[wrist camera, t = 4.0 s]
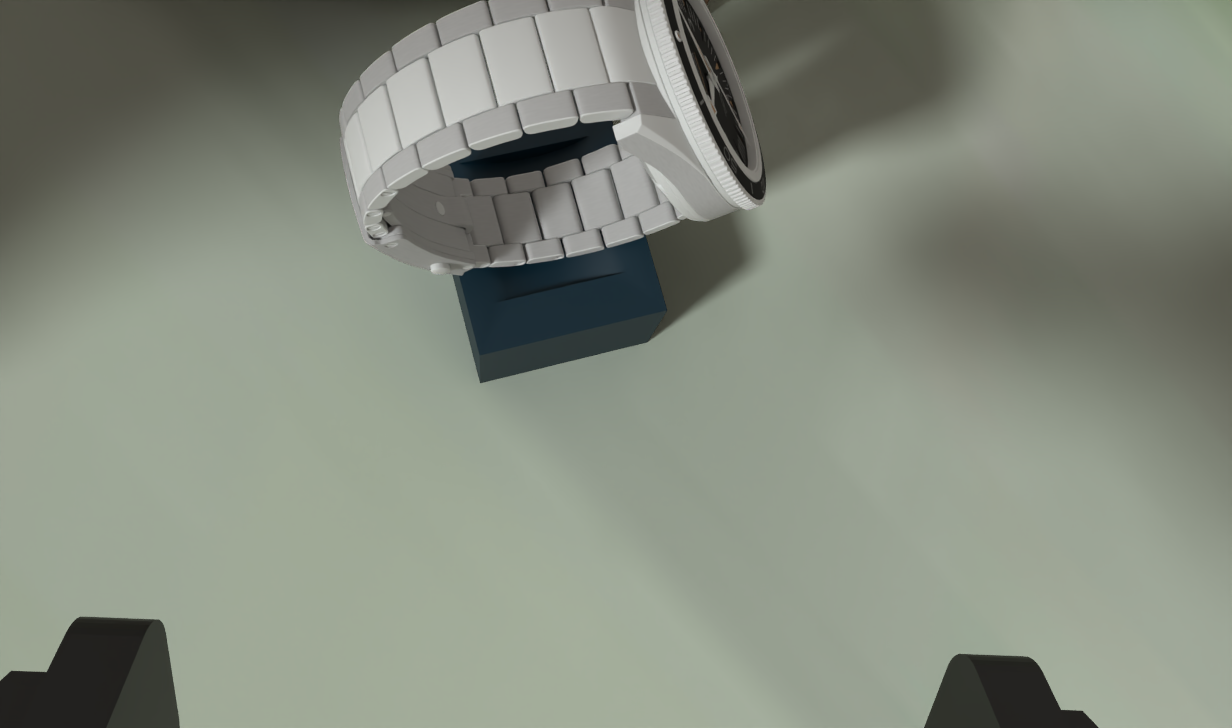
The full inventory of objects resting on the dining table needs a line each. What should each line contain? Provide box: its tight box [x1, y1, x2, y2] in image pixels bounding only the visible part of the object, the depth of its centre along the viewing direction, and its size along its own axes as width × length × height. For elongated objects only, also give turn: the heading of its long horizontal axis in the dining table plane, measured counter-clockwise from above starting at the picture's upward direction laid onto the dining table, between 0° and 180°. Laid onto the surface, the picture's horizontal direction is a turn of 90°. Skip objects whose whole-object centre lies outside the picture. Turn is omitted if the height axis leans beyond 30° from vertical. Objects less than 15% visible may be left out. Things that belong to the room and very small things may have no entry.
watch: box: [339, 0, 766, 383], centre depth 23 cm, size 6×8×11 cm
